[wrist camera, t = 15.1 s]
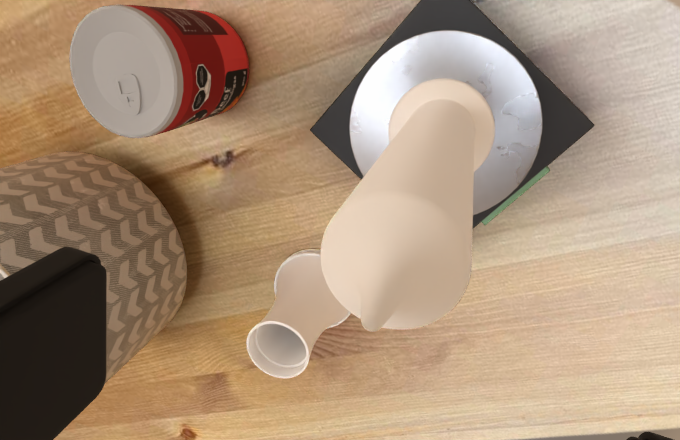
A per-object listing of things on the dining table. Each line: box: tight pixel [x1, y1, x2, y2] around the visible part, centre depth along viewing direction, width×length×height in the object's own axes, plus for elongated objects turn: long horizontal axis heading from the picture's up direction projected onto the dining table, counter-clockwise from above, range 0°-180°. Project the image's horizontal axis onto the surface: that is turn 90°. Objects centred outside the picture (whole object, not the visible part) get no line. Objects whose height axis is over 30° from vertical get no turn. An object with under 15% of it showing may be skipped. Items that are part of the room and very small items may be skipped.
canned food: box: [70, 5, 249, 138], centre depth 36 cm, size 8×8×11 cm
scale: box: [310, 0, 594, 228], centre depth 36 cm, size 14×14×4 cm
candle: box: [320, 78, 495, 332], centre depth 23 cm, size 7×7×25 cm
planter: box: [0, 152, 187, 383], centre depth 41 cm, size 19×19×18 cm
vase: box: [246, 249, 351, 378], centre depth 41 cm, size 8×8×10 cm
